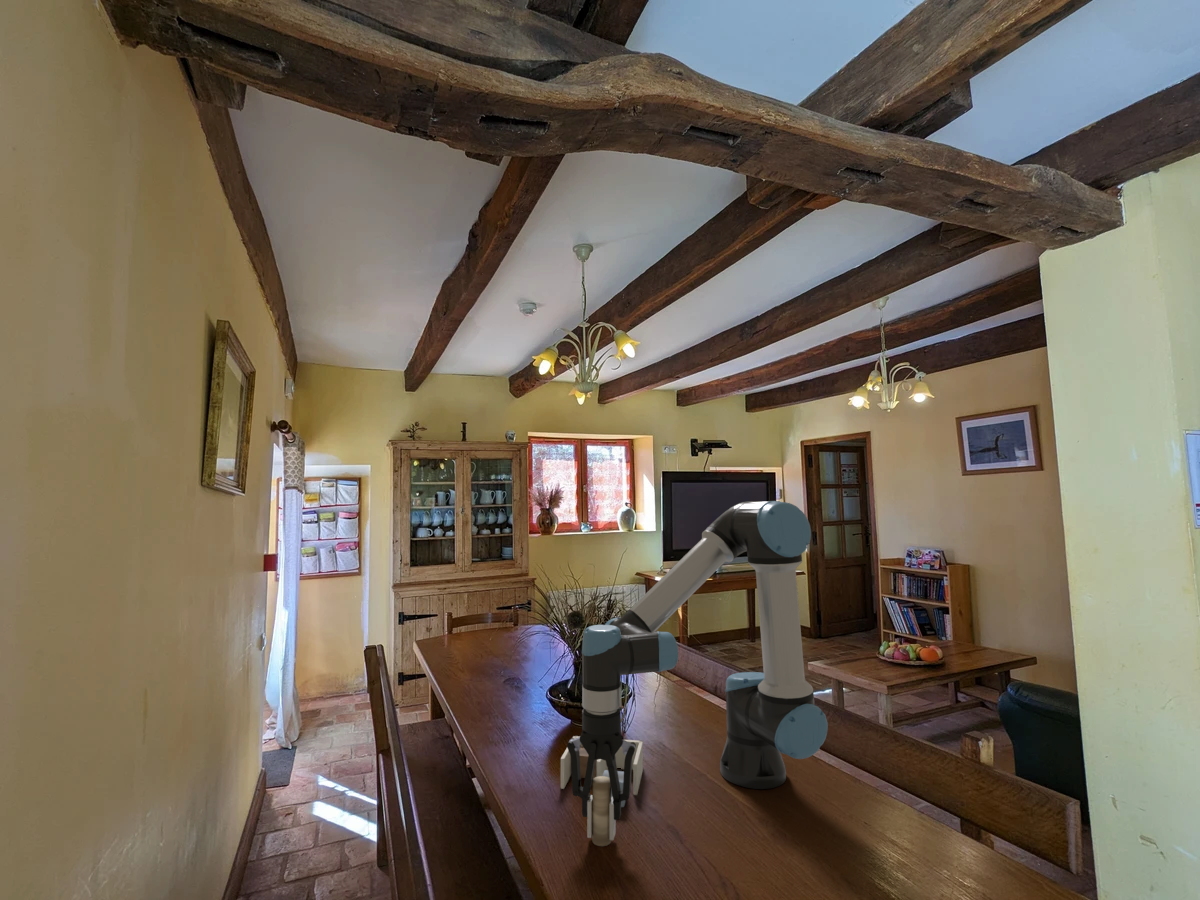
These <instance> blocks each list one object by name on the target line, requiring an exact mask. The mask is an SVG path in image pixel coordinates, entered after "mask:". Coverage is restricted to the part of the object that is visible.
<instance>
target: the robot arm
mask: <svg viewBox="0 0 1200 900" xmlns="http://www.w3.org/2000/svg"><path fill="white" fill-rule="evenodd" d="M811 539H812V529H811V525H810V522H809V520H808V517H807V515H806V514H805V513H804V512H803V510H801V509H800V508H799V507H798V506H796V505H794V504H793V503H790V502H786V501H784V502H783V501H780V500H770V501H769V500H768V501H766V500H765V501H754V500H753V501H750V500H749V501H742V502H739V503H737V504H734V505H733V506H731V507H730V508H729V509H727V510H725V511H724V512H722V514H721V515H720V516H718V517H717V518H716V519H715V520H714V521H712V523H710V524H709V525H708V526H707V527H706V529H704V530H703V531H702V533H701V539H700V540H699V541H698V542H697V543H696V544H695V545H694V546H692V548H691V549H690V550H689V551H688V552H687V553H685V555H683V557H682V558H681V559H680V560H679V561H677V562H676V564H675V565H673V567H672V568H671V569H670V570H669V571H667V572H666V574H664V575H663V576H662V577H661V578H660V579H659V580H657V582H656V583H655V584H654V585H653V586H652V587H651V588H650V589H649V590H647V592H646V593H645V594H644V595H643V596H641V598H640V599H638V601H636V603H635V604H633V606H632V607H631V608H629V609H628V610H627V612H625V613H624V614H623V615H622V616H620V617H612V618H611V619H609V620H608V621H606V622H605V623H604V624H594V625H590V626H588V627H585V629H584V631H583V633H582V634H583V635H582V644H581V645H582V646H581V655H582V656H581V658H582V661H581V662H582V664H581V665H582V667H581V668H582V669H581V670H582V685H581V687H582V688H581V689H582V690H581V691H582V694H581V695H582V696H581V699H582V700H581V702H582V703H581V706H582V708H583V709H582V711H581V712H582V713H581V720H582V721H581V724H582V725H581V729H582V730H581V733H580V735H579V736H580V737H578V738H576V739H574V738H573V737H571V738H570V739H569V741H568V742H567V745H566V748H568V750H569V753H570V755H571V789H572V793H571V794H572V795H573V796H574V797H579V798H580V799H581V814H582V815H581V816H582V817H583V818H587V819H586V821H587V822H586V824H587V825H586V826H587V827H586V832H587V833H586V834H587V835H586V836H587V837H586V838H588V839H591V838H592V794H591V791H592V790H591V789H592V780H593V773H594V767H595V762H596V760H598V759H602V760H605V761H606V765H607V767H608V773H609V778H610V784H611V790H612V796H613V797H612V798H611V801H610V804H609V820H610V840H611V841H614V840H615V836H616V831H617V825H616V824H617V823H616V821H620V819H621V815H622V807H621V801H623V800H625V802H627V801H628V800H629V799H630V796H631V791H632V772H633V770H632V756H633V754H634V751H635V748H636V744H635V743H634V742H632V743H629V742H627V741H625V740H626V739H625V738H624V736H623V735H622V724H621V723H622V722H621V718H622V714H621V713H622V711H621V708H620V706H622V704H621V703H622V699H621V694H622V693H621V691H622V690H621V685H622V683H621V680H622V679H621V678H622V676H624V675H625V676H627V675H629V676H630V675H636V674H637V675H638V674H646V673H647V674H648V673H656V672H658V673H661V672H663V671H664V672H665V671H669V670H670V671H671V670H673V669H674V668H675V667H676V665H677V663H678V660H679V648H678V647H679V646H678V643H677V640H676V638H675V637H674V635H673V634H672V633H671V632H670V631H669V632H668V631H659V628H660V627H662V625H664V623H665V622H666V621H667V620H669V619H670V618H671V616H672V615H673V614H675V612H676V611H677V610H679V608H681V607H682V606H683V604H685V602H686V601H688V599H689V598H691V596H692V595H693V594H695V593H696V591H697V590H699V588H701V586H702V585H704V584H705V582H707V580H709V579H710V578H711V577H712V576H713V574H714V573H716V572H717V570H719V569H720V568H721V566H723V564H725V563H731V562H732V561H734V560H735V559H736V558H737V557H738V556H740V555H741V554H743V553H745V552H746V554H747V563H748V564H749V566H751V568H753V570H754V571H755V579H756V591H757V604H758V618H759V629H760V632H759V633H760V641H761V654H762V655H761V656H762V667H763V668H762V669H763V672H760V671H759V672H757V671H748V672H747V671H744V672H743V671H742V672H737V673H733V674H730V675H729V676H727V678H726V681H725V690H724V692H725V702H726V703H725V704H726V706H725V707H726V710H725V711H726V741H725V744H724V746H723V750H722V753H721V757H720V762H719V771H720V774H721V776H722V777H723V778H724V779H725V780H726V781H728V782H730V783H732V784H733V785H737V786H739V787H743V788H747V789H754V790H767V789H768V790H769V789H774V788H778V787H780V786H781V785H783V784H784V783H785V781H786V779H787V771H786V765H785V763H784V760H783V756H782V754H784V755H786V756H788V757H791V758H792V759H797V760H803V759H808V758H810V757H812V756H813V755H815V754H816V753H817V752H818V751H819V750H820V748H821V746H823V744H824V742H825V741H826V739H827V734H828V727H829V726H828V725H829V723H828V720H827V716H826V714H825V713H824V711H823V710H822V709H821V707H819V706H817V705H816V704H815V696H814V688H813V686H812V684H810V683H809V682H808V681H807V680H806V677H805V676H806V675H805V664H804V651H803V642H802V632H801V631H802V630H801V616H800V607H799V596H798V595H799V592H798V584H797V583H798V582H797V568H798V567H799V566H800V565H801V564H802V563H803V556H802V554H804V553H805V551H806V550H807V549H808V545H809V544H810V542H811ZM580 744H582V745H583V747H584V749H585V750H586V752H587V753H588V755H589V756H588V761H587V769H586V775H585V778H584V782H583V785H582V778H581V773H580V754H579V749H580V747H581V746H580ZM620 747H622V748H623V754H624V755H626V756H625V762H624V769H623V772H624V780H623V790H622V791H621V789H620V783H619V777H618V772H617V771H618V769H617V766H616V757H615V754H616V753H617V751H618V750H619V749H620Z"/></svg>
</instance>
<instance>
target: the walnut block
mask: <svg viewBox="0 0 1200 900" xmlns="http://www.w3.org/2000/svg"><path fill="white" fill-rule="evenodd" d="M579 754H580V773H581V779H585V775H586V769H587V761H588V756H589V755H588V753H587V752H586V750H585V749H584V747H580V749H579ZM595 777H597V760H596V762H595V767H594V773H593V779H594V778H595ZM593 779H592V780H593Z"/></svg>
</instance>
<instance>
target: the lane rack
mask: <svg viewBox="0 0 1200 900" xmlns="http://www.w3.org/2000/svg"><path fill="white" fill-rule="evenodd" d="M578 737H580V735H579V736H578V735H573V736H572V738H574V739H576V738H578ZM624 740H625V741H627V742H629V743H632V742H634V743H635V744H636V748H635V751H634V754H633V756H632V772H633V774H632V775H633V777H632V778H633V779H632V780H633V782H632V783H633V784H632V785H633V787H632V789H633V792H632V793H633V796H638V794H639V793H638V792H639V789H640V785H641V780H642V775H643V770H644V740H636V739H635V740H634V739H624ZM580 746H581V747H583V745H582V744H580ZM625 756H626V755H624V754H623V748H622V747H620V749H619V750H618V751H617V753H616V754H615V757H616V766H617V768H621V769H620V770H624V762H625ZM604 770H608V767H607V765H606V761H605V760H602V759H598V760H597V777H598V776H603V773H604ZM570 777H572V774H571V755H570V753H569V750H568V748H567V747H566V749H565V750H564V752H563V754H562V755H561V757H560V789H561V790H562V789H563V790H564V789H565V787H566V785H567V783H568V782H569V780H570Z"/></svg>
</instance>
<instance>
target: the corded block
mask: <svg viewBox="0 0 1200 900" xmlns="http://www.w3.org/2000/svg"><path fill="white" fill-rule="evenodd" d="M617 772H618V777H619V783H620V789H621V791H622V790H623V780H624V771H622V770H617ZM591 789H592V790H591V791H592V793H591V795H592V837H591V838H592V839H591V841H592V844H594V846H598V847H606V846H608V845H610V844H611V843H612V840H610V820H609V804H610V801H611V798H612V797H613V796H612V790H611V784H610V778H609V773H608V770H604V773H603V776H598V777H595V778H594V779H592V785H591ZM625 805H626V801H625V800H623V801H621V808H624V807H625Z"/></svg>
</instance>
